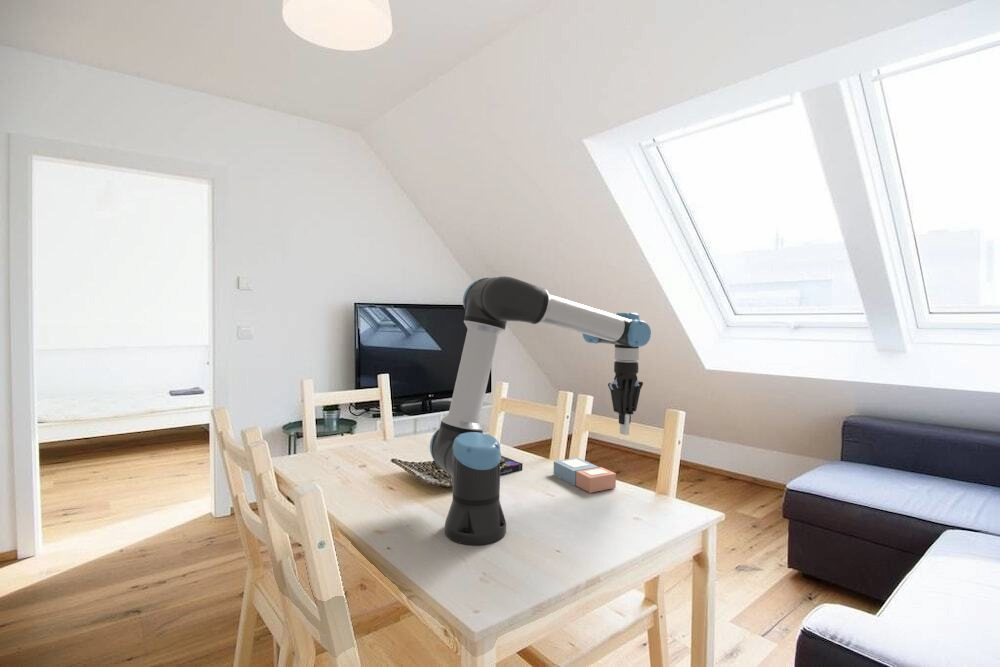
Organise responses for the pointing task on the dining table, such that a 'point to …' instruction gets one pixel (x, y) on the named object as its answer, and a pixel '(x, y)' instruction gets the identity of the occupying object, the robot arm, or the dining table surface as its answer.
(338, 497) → the dining table surface
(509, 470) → the box
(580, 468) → the white-topped blue block
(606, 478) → the white-topped pink block
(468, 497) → the robot arm
